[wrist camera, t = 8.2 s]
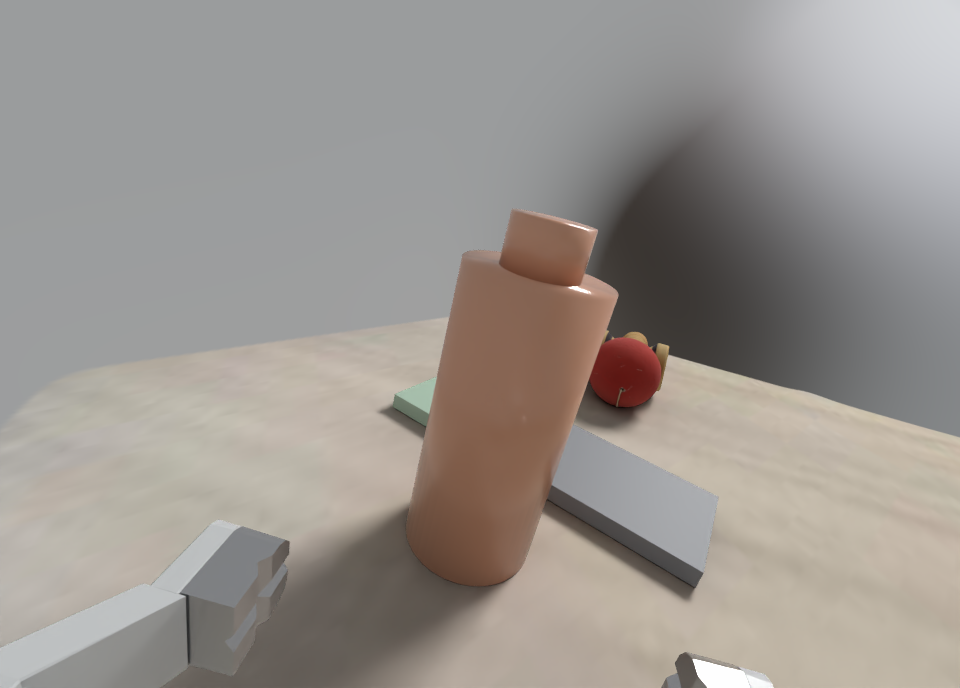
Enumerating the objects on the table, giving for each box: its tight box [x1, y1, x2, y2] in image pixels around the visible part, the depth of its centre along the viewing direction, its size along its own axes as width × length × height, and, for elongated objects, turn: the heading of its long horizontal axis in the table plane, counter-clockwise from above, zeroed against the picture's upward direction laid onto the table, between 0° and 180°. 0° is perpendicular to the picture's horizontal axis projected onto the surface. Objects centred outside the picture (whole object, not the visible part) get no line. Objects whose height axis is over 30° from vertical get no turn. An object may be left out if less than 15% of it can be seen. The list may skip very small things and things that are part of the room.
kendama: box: [589, 331, 669, 407], centre depth 44 cm, size 8×6×18 cm
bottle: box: [406, 209, 618, 586], centre depth 19 cm, size 6×6×15 cm
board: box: [393, 377, 718, 587], centre depth 29 cm, size 20×8×1 cm, turn 57°
